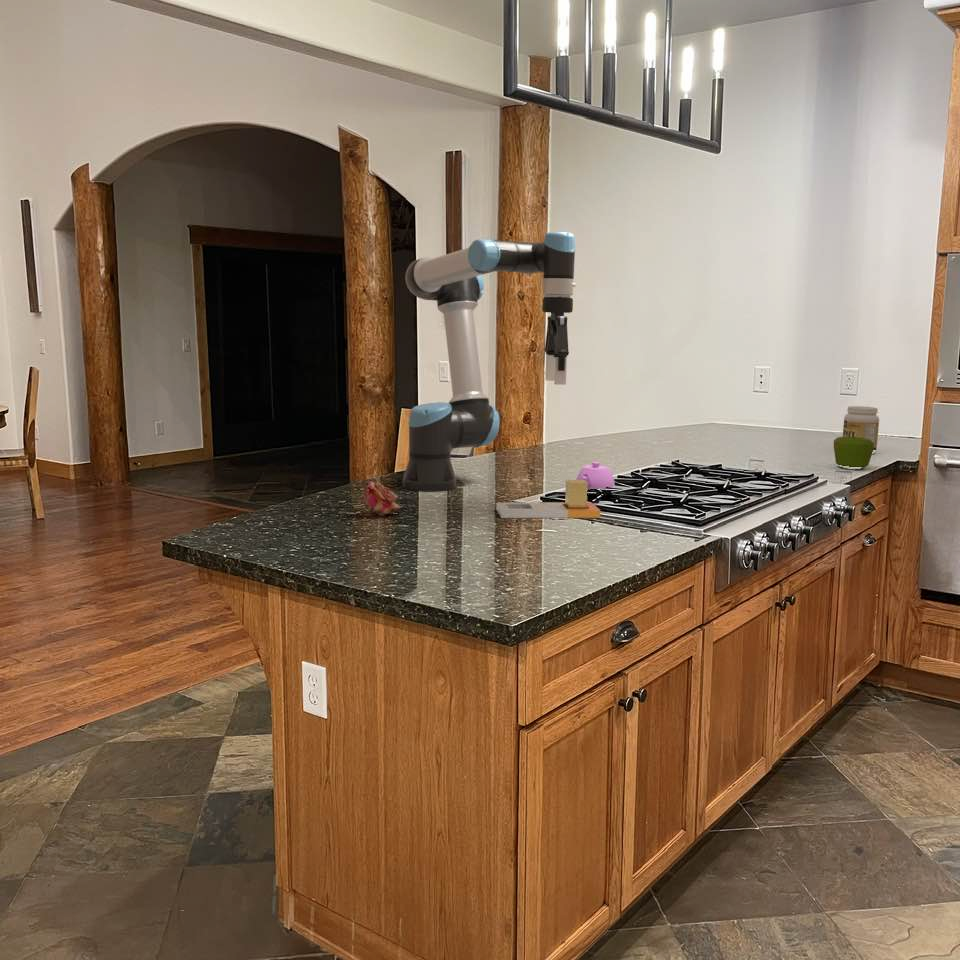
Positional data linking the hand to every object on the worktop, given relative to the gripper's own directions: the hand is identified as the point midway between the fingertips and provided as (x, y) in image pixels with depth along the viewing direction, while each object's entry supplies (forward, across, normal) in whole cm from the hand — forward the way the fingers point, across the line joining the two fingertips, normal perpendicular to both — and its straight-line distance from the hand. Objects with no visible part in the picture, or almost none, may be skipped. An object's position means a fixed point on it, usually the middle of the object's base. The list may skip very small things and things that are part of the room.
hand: (555, 382), depth 245 cm
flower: (+32, -10, +43) cm, 55 cm away
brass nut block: (+31, -12, -4) cm, 34 cm away
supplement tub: (+32, +101, -133) cm, 170 cm away
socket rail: (+32, -12, +3) cm, 34 cm away
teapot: (+32, +14, -14) cm, 38 cm away
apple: (+32, +64, -112) cm, 133 cm away
